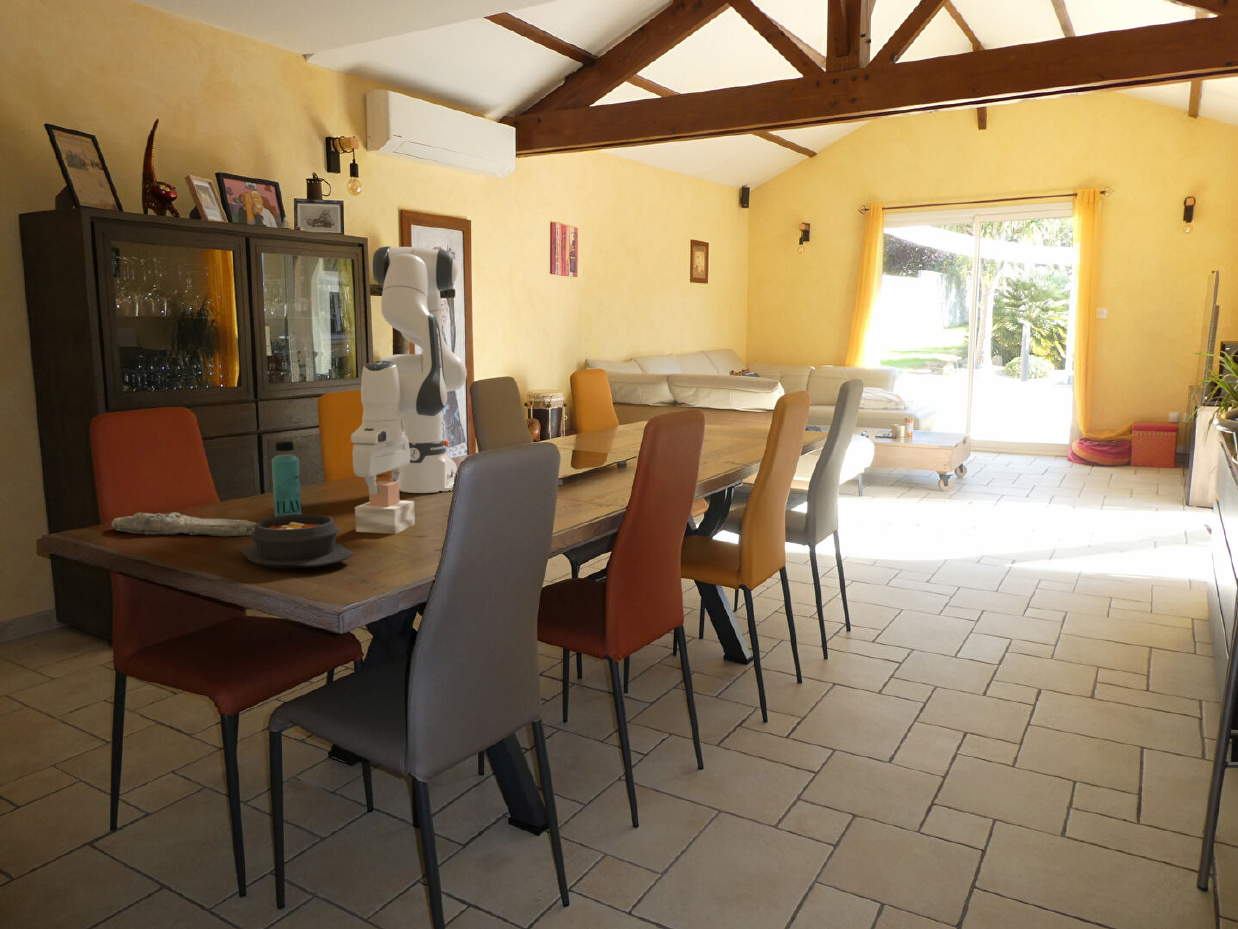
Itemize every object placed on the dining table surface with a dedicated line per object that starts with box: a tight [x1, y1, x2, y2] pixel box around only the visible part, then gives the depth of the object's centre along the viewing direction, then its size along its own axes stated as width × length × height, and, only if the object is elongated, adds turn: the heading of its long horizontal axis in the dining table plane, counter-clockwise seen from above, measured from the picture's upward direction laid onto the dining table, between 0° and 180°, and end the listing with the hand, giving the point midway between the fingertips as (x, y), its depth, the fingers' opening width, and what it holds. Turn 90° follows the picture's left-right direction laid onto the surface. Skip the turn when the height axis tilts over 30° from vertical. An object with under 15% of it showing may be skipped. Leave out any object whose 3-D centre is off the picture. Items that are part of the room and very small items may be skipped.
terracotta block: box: [368, 480, 400, 507], centre depth 212 cm, size 5×5×5 cm
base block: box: [354, 499, 416, 535], centre depth 213 cm, size 10×10×6 cm
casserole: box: [240, 513, 354, 569], centre depth 183 cm, size 25×19×8 cm
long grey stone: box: [111, 512, 258, 537], centre depth 209 cm, size 35×5×10 cm
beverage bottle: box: [271, 440, 303, 517], centre depth 216 cm, size 6×7×20 cm
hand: (384, 490), depth 212 cm, fingers open, 8 cm apart
